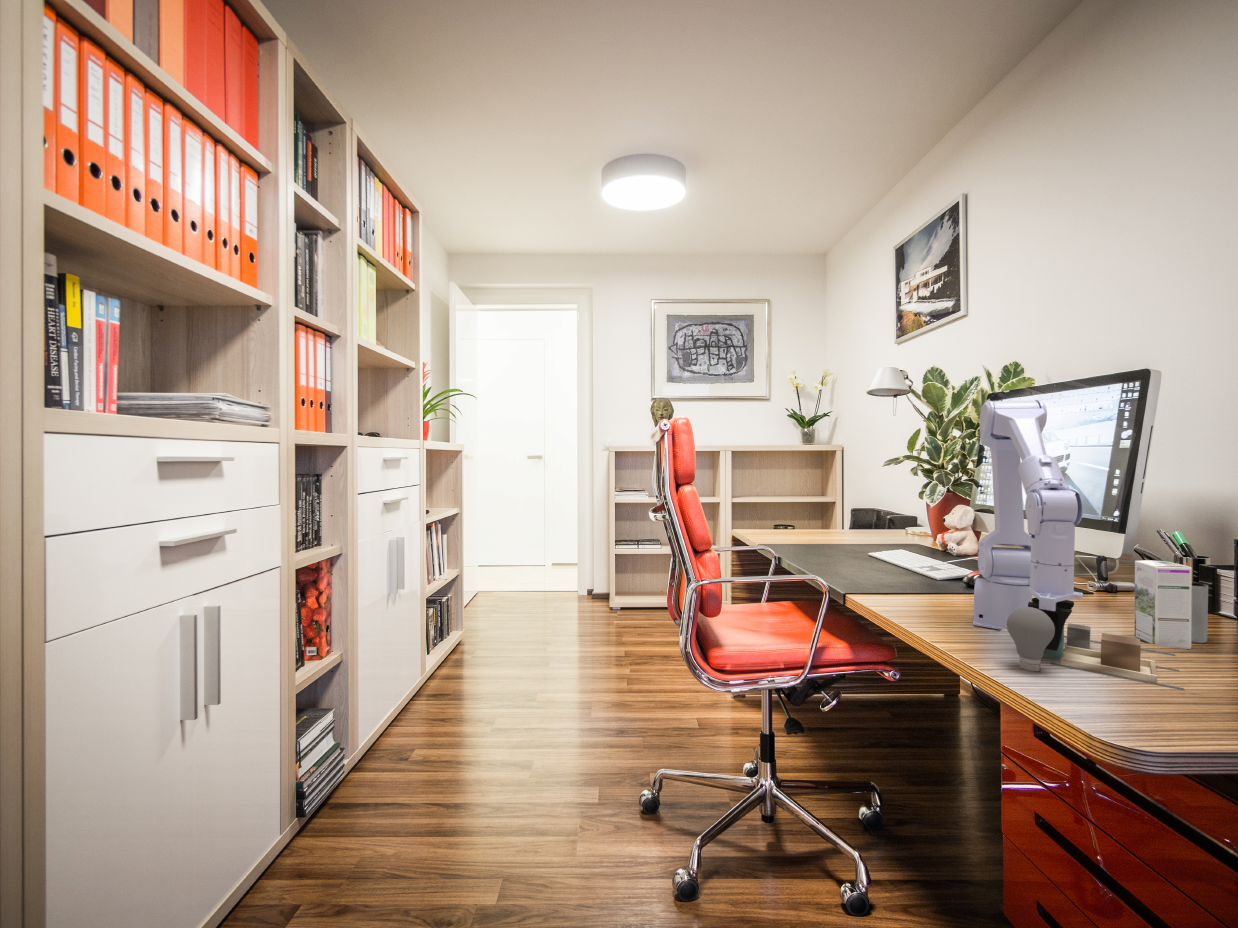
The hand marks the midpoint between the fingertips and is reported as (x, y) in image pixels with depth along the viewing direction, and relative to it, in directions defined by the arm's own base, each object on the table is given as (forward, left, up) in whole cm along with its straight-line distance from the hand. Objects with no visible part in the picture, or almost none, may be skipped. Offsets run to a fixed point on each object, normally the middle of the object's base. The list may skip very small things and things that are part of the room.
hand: (1050, 646), depth 95 cm
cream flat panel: (+8, +10, -2) cm, 13 cm away
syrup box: (+14, +25, -2) cm, 28 cm away
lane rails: (+8, +5, -2) cm, 10 cm away
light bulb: (-2, -9, -2) cm, 10 cm away
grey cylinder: (+18, +32, -2) cm, 36 cm away
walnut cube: (+9, 0, -2) cm, 9 cm away
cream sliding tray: (+5, 0, -2) cm, 6 cm away
